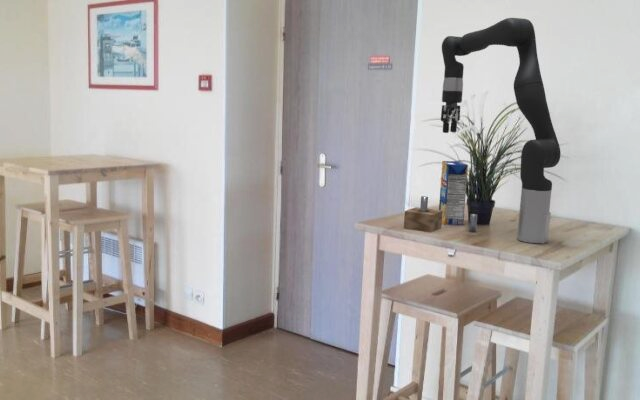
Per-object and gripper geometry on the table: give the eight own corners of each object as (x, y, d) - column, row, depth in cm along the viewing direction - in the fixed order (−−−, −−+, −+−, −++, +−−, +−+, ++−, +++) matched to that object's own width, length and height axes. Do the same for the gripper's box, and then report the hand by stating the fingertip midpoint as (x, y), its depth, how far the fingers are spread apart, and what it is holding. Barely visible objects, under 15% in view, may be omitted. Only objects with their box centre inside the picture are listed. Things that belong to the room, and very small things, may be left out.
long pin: (426, 227, 218) (429, 196, 216) (424, 228, 216) (426, 197, 214) (420, 226, 219) (422, 196, 218) (417, 227, 217) (420, 196, 216)
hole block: (441, 227, 219) (442, 210, 218) (430, 232, 211) (431, 214, 210) (415, 223, 225) (416, 207, 224) (403, 227, 216) (404, 211, 215)
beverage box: (444, 224, 225) (448, 164, 221) (438, 218, 235) (442, 160, 232) (463, 225, 225) (468, 164, 221) (456, 219, 236) (460, 161, 232)
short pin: (476, 231, 215) (478, 214, 214) (474, 232, 213) (476, 215, 212) (470, 230, 216) (471, 213, 215) (467, 231, 214) (469, 214, 213)
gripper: (455, 89, 230) (452, 133, 233) (468, 90, 242) (464, 132, 244) (436, 89, 234) (433, 132, 236) (449, 90, 246) (446, 131, 248)
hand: (449, 132), depth 240 cm, fingers open, 8 cm apart
